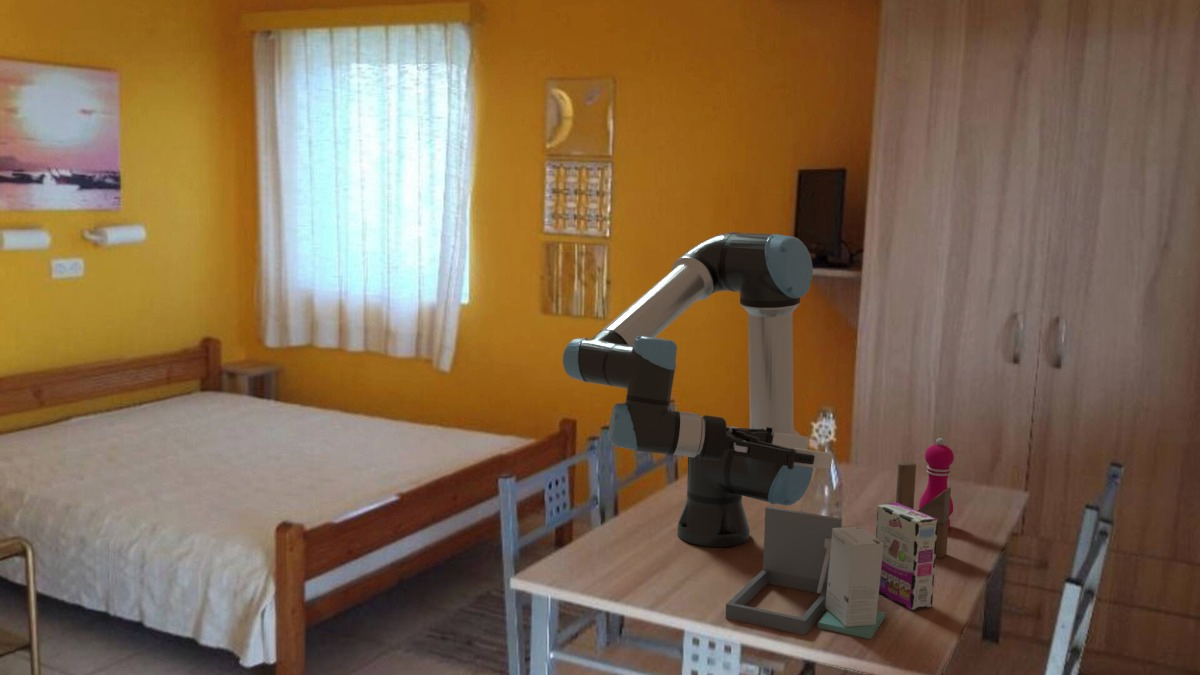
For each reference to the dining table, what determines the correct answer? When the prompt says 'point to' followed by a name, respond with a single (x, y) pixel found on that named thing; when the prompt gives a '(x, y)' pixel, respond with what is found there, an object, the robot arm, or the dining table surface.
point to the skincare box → (854, 576)
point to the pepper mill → (937, 472)
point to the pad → (835, 625)
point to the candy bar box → (907, 555)
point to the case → (789, 567)
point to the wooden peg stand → (934, 508)
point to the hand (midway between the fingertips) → (819, 452)
